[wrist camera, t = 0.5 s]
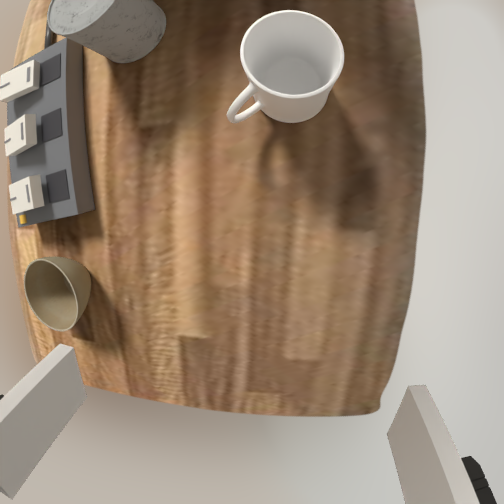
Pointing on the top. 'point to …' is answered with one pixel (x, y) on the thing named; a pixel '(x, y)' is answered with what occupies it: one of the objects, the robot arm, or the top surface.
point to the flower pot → (57, 291)
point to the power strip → (55, 134)
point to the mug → (288, 66)
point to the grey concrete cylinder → (110, 26)
